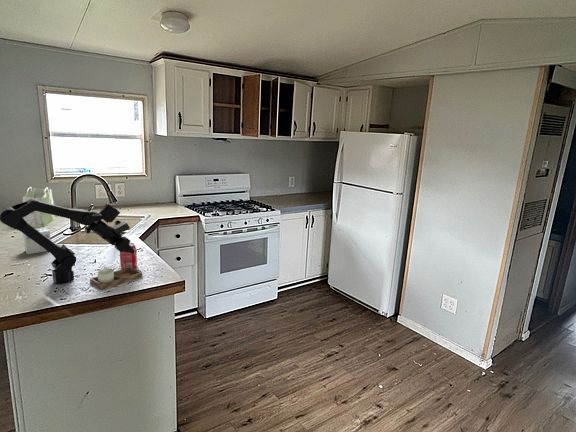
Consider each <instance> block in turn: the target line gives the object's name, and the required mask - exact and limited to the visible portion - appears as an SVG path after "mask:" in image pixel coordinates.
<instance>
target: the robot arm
mask: <svg viewBox="0 0 576 432" xmlns="http://www.w3.org/2000/svg"><path fill="white" fill-rule="evenodd" d="M34 211H39V212H43V213H47V214H52V215H56V216H57V217H60V218H65V219H69V220H71V221H74V222H75V223H77V224H80V225H82V226H84V232H85V233H86V234H88V235H89V234H90V232H93V233H94V234H96V235H97V236H98V237H100V238H101V239H102V240H104V241H105V242H107V243H108V244H110V245H111V246H114V249H116V250H117V251H118V252H119V253H120V252H122V251H123V252H129V253H134V252H135V251H134V250H133V248H132V247H131V246H130V245H129V243H131V240H130V239H129V238H127V237H126V236H122V235H123V233H124V232H126V231H129V230H130V229H131V227H130V226H129V223H128V222H127V221H125V220H121V221H120V220H119V219H117V218H118V216H119V215H120V214H121V211H119V210H118V209H117V208H115V207H113V206H112V205H110V204H109V203H105V204H104V206H103V207H102V208H101V210H99V211H98V212H97V211H89V210H88V209H84V208H68V207H64V206H59V205H57V204H55V205H53V204H49V203H45V202H41V201H38V200H36V199H30V200H28V201H26V202H23V203H22V202H21V203H17V204H14V205H12V206H4V207H2V208H0V222H1V223H2V224H3V225H6V226H7V227H9V228H12V229H14V230H17V231H19V232H21V233H22V234H23V233H24V234H25V235H26V236H28V237H29V238H31V239H32V240H33V241H35V242H36V243H37V244H39V245H40V246H42V247H43V248H44V249H46V250H47V251H46V252H48V253H50V254H51V255H52V256H53V258H54V260H52V261H51V263H50V264H51V266H52V268H54V269H52V270H51V273H52V282H53V284H55V285H57V286H58V285H64V284H65V285H66V284H68V283H70V282H72V281H75V275H74V271H73V267H74V265H75V264H76V262H77V257H76V256H75V255H76V253H75V252H74V251H73V250H72V249H71V248H68V246H66V245H65V244H64V243H63V244H62V245H61V246H60V245H58V244H57V243H55V242H53V241H52V240H50V239H51V238H50V239H48V238H47V237H46V236H44V235H43V234H42V233H40V232H39V231H38V230H37V229H36V227H32V226H31V225H30V224H28V223H27V222H26V221H25V220H24V218H23V217H25V216H27V215H29V214H30V213H32V212H34ZM115 219H116V220H115ZM114 220H115V221H114ZM113 222H114V224H113V226H111V225H109V224H110V223H113ZM108 223H109V224H108Z"/></svg>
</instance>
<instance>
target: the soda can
mask: <svg viewBox="0 0 576 432" xmlns="http://www.w3.org/2000/svg"><path fill="white" fill-rule="evenodd" d="M129 245H130V246H131V247H132V248H133V250H134V251H135V252H134V253H129V252H123V251H122V252H120V251H119V262H120V263H119V265H120V270H122V269H125V268H128V267H131V268H133V269H135V270H136V268H137V267H138V257H137V256H138V254H137V247H136V245H135V243H133V242H130V243H129Z"/></svg>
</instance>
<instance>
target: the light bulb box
mask: <svg viewBox="0 0 576 432" xmlns="http://www.w3.org/2000/svg"><path fill="white" fill-rule="evenodd" d="M36 230H38V231H39V232H40V233H42V234H43V235H44V236H46V237H47V238H48V239H50V240H51V239H52V238H51V234H50V233H51V232H50V230H49V229H48V228H46V227H44V228H38V229H36ZM22 235H23V241H24V242H23V243H24V249H25V250H24V251H25V252H26V254H27V255H31V254H38V253H45V252H48V251H47V250H46V249H44V248H43V247H42V246H40V245H39V244H37V243H36V242H35V241H33V240H32V239H31V238H29V237H28V236H26V235H25V234H24V233H22ZM51 241H52V240H51Z"/></svg>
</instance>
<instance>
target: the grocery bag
mask: <svg viewBox="0 0 576 432" xmlns="http://www.w3.org/2000/svg"><path fill="white" fill-rule="evenodd" d="M29 190H30V191H29ZM30 199H36V200H38V201H41V202H45V203H49V204H53V205H56V204H55V202H54V201H55V200H54V197H53V192H52V188H49V187H45V188H44V189H41V188H38V187H34V188H32V186H30V187H28V188H27V191H26V194H25V195H24V196H22V199H21V200H22V202H21V203H23V202H26V201H28V200H30ZM56 217H58V216H56V215H52V214H47V213H43V212H39V211H34V212H32V213H30V214H29V215H27V216H25V217H23V218H24V220H25V221H26V222H27V223H28V224H30V225H31V226H32V227H34V228H46V227H47V226H48V225H49V224H51V223H53V222H54V221H55V219H56Z"/></svg>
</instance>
